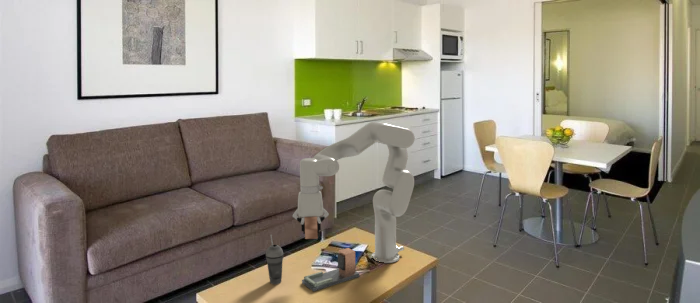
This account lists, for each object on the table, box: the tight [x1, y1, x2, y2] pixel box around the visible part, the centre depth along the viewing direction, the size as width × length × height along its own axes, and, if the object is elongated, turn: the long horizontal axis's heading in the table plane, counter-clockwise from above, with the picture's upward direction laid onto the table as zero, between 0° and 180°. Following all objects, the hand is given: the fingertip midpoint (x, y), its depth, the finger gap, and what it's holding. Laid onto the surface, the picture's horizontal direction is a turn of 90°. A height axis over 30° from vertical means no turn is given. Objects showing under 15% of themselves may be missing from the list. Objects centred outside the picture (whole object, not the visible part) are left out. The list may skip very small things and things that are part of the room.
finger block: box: [304, 217, 319, 240], centre depth 187 cm, size 5×6×9 cm
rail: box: [301, 247, 360, 292], centre depth 186 cm, size 22×9×10 cm, turn 125°
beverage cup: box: [265, 234, 285, 285], centre depth 184 cm, size 7×7×20 cm
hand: (311, 232), depth 187 cm, fingers closed on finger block, 5 cm apart
